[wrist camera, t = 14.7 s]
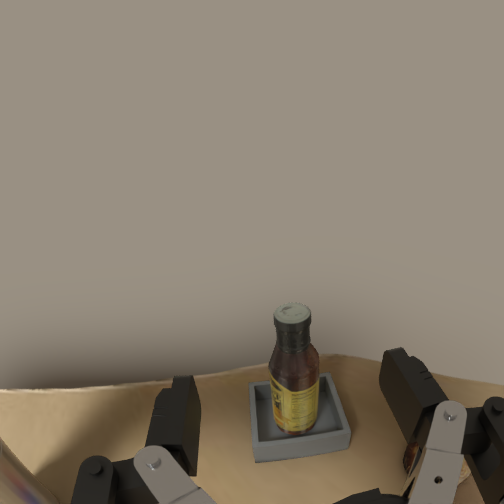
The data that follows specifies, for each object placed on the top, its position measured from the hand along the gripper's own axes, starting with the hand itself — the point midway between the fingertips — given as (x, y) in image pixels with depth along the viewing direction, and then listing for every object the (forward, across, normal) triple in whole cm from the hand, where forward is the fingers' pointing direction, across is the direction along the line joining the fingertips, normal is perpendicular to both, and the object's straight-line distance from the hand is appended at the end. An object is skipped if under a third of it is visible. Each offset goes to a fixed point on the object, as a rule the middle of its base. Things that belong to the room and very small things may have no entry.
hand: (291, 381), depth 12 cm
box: (+20, -3, +29) cm, 36 cm away
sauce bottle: (+20, -3, +29) cm, 35 cm away
